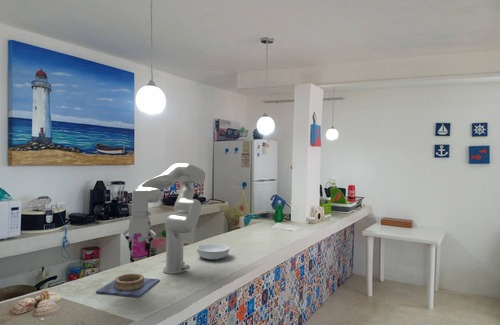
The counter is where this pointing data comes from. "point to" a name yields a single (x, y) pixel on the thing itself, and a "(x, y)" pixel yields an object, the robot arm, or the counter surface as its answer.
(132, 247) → the supplement box
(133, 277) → the collar
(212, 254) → the serving bowl
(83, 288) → the counter surface
